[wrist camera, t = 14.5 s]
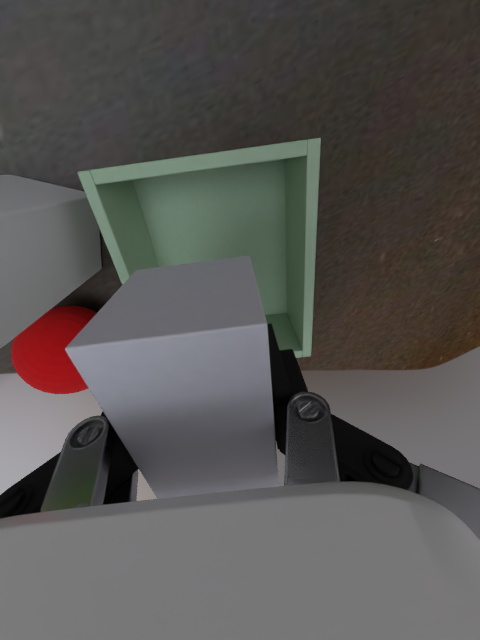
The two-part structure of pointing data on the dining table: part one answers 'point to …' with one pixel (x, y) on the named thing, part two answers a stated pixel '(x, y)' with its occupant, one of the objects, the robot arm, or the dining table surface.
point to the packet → (186, 376)
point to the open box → (221, 221)
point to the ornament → (51, 350)
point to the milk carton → (42, 249)
